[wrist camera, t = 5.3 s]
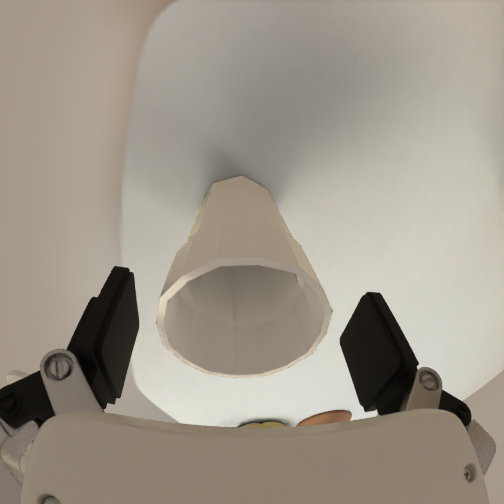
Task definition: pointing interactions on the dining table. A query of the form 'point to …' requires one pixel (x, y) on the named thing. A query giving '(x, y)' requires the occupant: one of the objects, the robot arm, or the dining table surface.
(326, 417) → the coaster
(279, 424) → the bread roll
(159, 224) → the dining table surface
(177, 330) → the cup
